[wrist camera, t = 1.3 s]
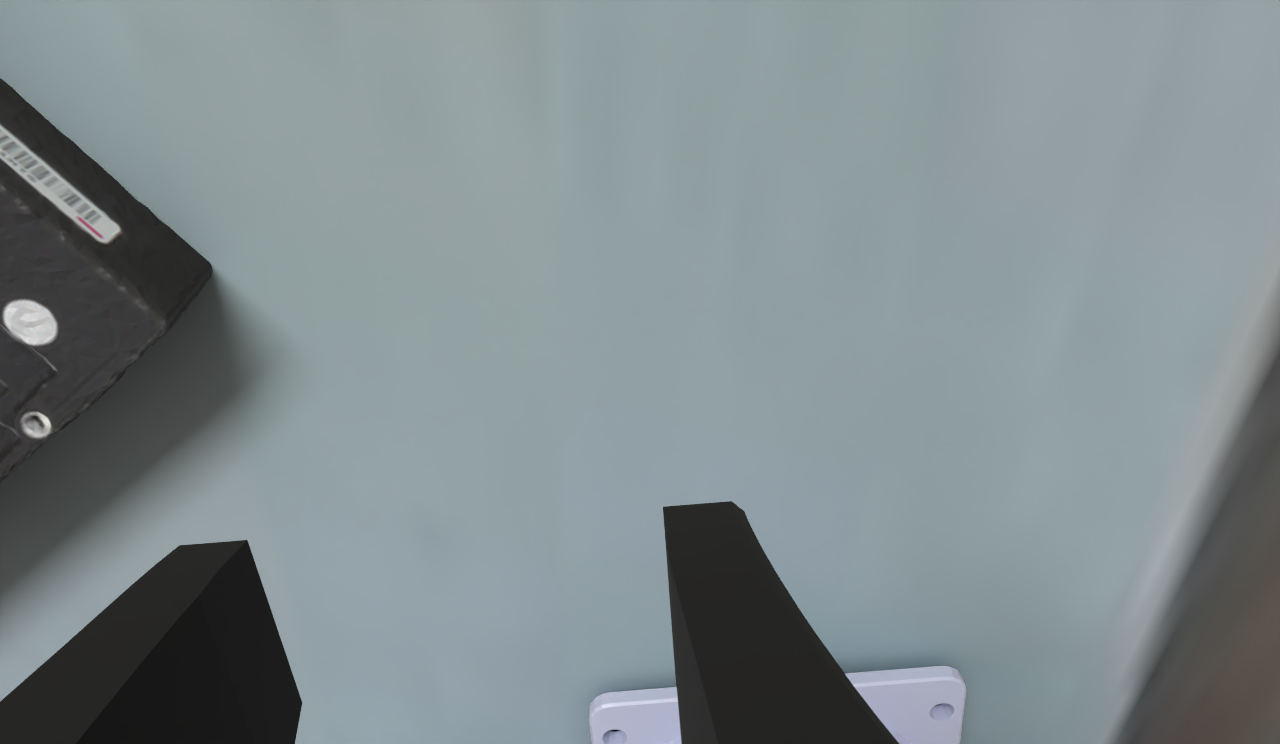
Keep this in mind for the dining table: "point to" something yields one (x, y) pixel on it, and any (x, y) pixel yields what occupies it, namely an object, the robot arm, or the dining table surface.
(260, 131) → the dining table surface
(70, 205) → the disk drive
